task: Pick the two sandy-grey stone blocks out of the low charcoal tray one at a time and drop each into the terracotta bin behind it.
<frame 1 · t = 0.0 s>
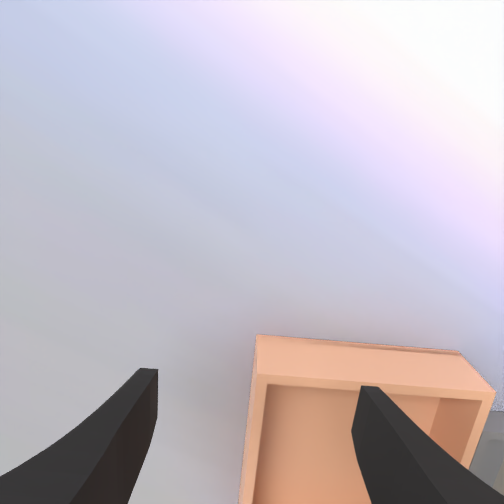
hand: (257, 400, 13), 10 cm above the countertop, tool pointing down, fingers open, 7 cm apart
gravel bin: (338, 435, 26), on the countertop
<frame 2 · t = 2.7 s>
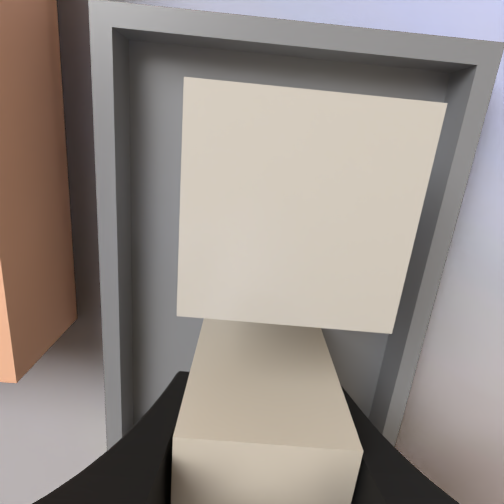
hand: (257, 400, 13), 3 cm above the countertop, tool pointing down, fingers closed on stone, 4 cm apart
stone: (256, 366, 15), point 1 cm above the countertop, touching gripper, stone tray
stone tray: (265, 274, 14), on the countertop
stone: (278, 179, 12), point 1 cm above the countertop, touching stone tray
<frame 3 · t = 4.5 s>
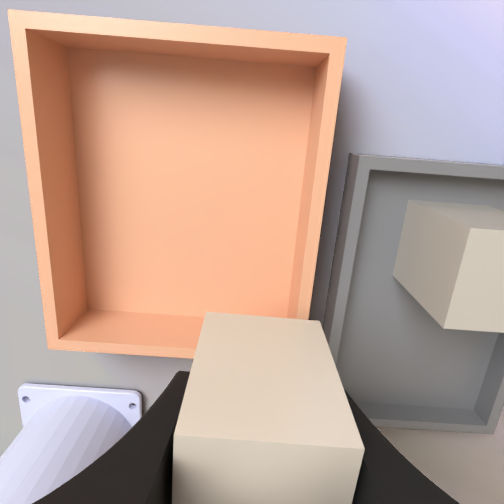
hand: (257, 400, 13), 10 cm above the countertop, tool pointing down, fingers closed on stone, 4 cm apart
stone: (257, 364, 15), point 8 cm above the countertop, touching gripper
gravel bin: (191, 198, 20), on the countertop
stone tray: (419, 297, 22), on the countertop
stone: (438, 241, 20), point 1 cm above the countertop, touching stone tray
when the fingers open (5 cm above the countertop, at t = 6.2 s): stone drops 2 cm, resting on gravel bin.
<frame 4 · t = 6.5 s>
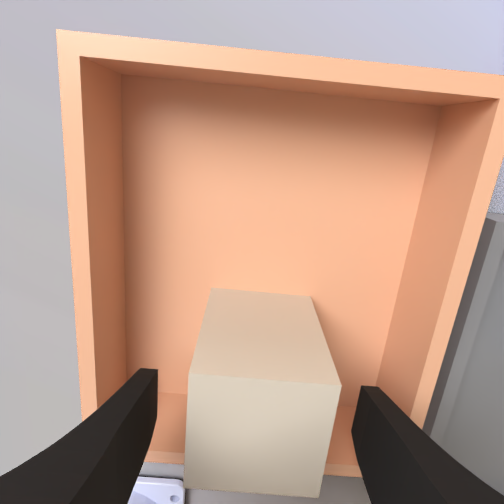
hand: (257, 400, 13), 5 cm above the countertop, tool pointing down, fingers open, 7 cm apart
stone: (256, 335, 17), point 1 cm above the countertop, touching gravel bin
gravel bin: (263, 261, 16), on the countertop
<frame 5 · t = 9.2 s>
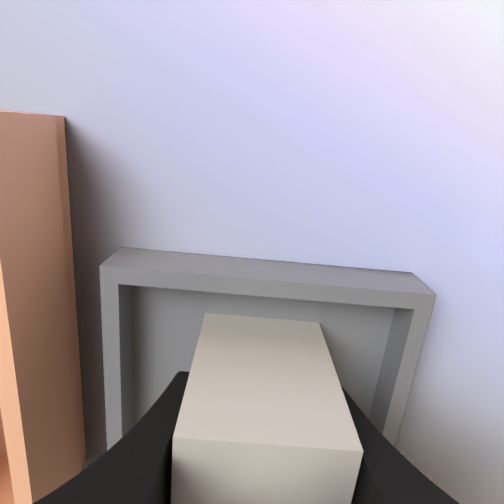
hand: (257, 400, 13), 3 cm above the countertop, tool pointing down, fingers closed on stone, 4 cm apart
stone tray: (248, 428, 17), on the countertop
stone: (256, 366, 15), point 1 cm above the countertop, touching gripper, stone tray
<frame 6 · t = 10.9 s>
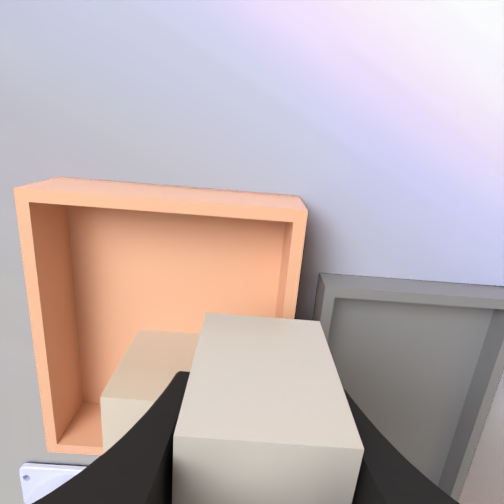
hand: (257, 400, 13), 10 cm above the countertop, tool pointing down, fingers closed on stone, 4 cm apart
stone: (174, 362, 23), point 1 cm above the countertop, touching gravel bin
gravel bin: (177, 309, 23), on the countertop
stone tray: (385, 391, 24), on the countertop
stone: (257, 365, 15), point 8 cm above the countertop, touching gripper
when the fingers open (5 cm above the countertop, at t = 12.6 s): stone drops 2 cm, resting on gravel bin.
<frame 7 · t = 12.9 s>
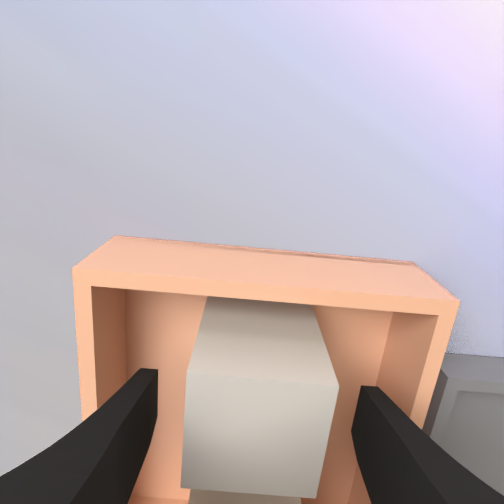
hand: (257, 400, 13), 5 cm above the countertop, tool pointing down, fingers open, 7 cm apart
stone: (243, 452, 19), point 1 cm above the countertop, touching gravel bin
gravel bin: (249, 390, 19), on the countertop
stone tray: (490, 484, 20), on the countertop
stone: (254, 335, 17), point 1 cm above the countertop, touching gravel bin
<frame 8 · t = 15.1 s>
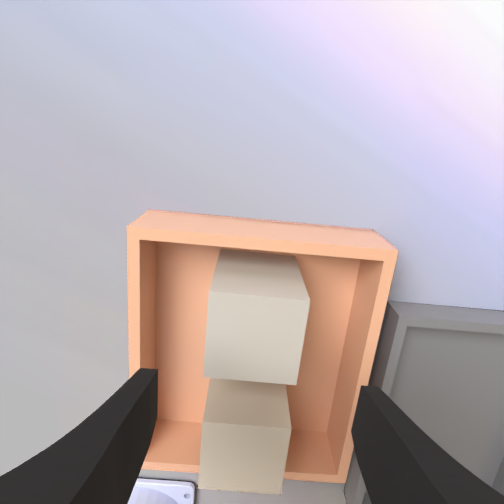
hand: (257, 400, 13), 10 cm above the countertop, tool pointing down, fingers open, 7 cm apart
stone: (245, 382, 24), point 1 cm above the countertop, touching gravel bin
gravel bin: (250, 333, 24), on the countertop
stone tray: (441, 411, 26), on the countertop
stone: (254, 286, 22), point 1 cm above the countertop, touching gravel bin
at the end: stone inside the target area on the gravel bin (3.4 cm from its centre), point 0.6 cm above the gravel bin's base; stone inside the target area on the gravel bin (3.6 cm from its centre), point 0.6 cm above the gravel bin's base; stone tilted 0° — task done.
